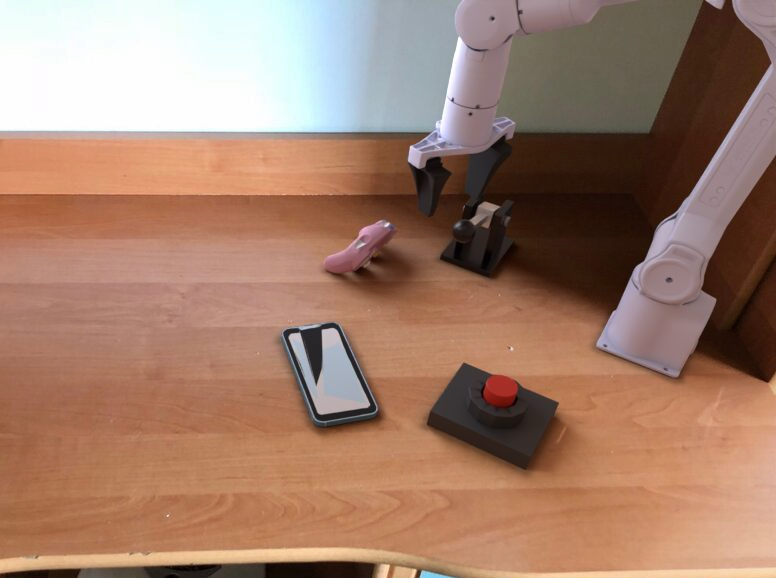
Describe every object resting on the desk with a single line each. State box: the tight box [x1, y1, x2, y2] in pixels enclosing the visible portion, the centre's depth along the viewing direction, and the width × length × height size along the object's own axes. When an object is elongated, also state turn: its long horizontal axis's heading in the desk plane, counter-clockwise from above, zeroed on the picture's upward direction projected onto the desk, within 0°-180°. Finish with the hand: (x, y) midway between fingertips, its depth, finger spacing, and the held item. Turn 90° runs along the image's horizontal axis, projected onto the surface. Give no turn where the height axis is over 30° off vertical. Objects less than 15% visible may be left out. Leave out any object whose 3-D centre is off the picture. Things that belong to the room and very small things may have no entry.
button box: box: [426, 361, 560, 471], centre depth 84 cm, size 11×9×4 cm
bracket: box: [439, 191, 515, 279], centre depth 104 cm, size 9×7×8 cm
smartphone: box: [280, 321, 379, 428], centre depth 89 cm, size 7×1×15 cm
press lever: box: [451, 201, 501, 243], centre depth 99 cm, size 12×3×3 cm, turn 148°
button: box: [483, 374, 518, 408], centre depth 82 cm, size 3×3×2 cm
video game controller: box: [323, 219, 398, 274], centre depth 103 cm, size 10×5×7 cm, turn 143°
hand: (449, 203), depth 97 cm, fingers open, 7 cm apart
